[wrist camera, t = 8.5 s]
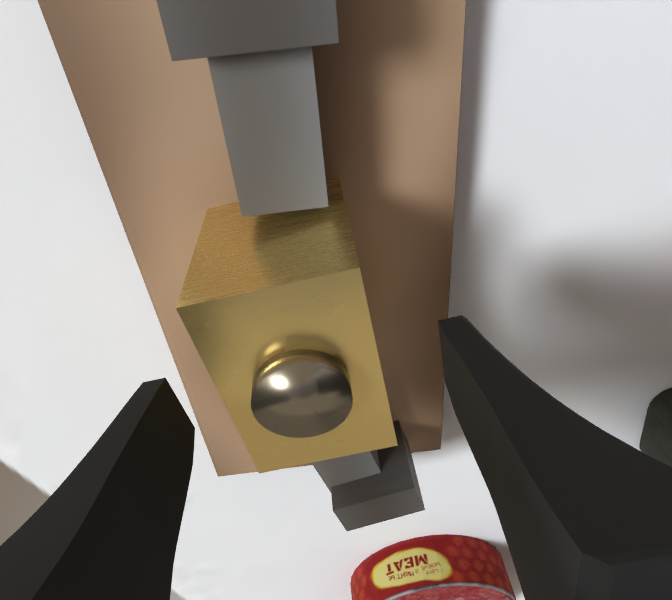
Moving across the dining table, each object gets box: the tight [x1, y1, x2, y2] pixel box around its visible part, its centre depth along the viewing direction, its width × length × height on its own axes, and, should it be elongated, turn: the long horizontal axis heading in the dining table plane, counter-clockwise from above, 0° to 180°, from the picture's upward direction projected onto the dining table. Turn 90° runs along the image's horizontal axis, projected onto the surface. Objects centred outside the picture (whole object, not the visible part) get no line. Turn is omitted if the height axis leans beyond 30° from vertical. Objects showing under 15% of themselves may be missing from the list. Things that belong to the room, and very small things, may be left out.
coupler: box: [176, 178, 398, 473], centre depth 14 cm, size 6×4×6 cm, turn 12°
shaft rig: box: [38, 0, 466, 531], centre depth 16 cm, size 10×19×4 cm, turn 5°
